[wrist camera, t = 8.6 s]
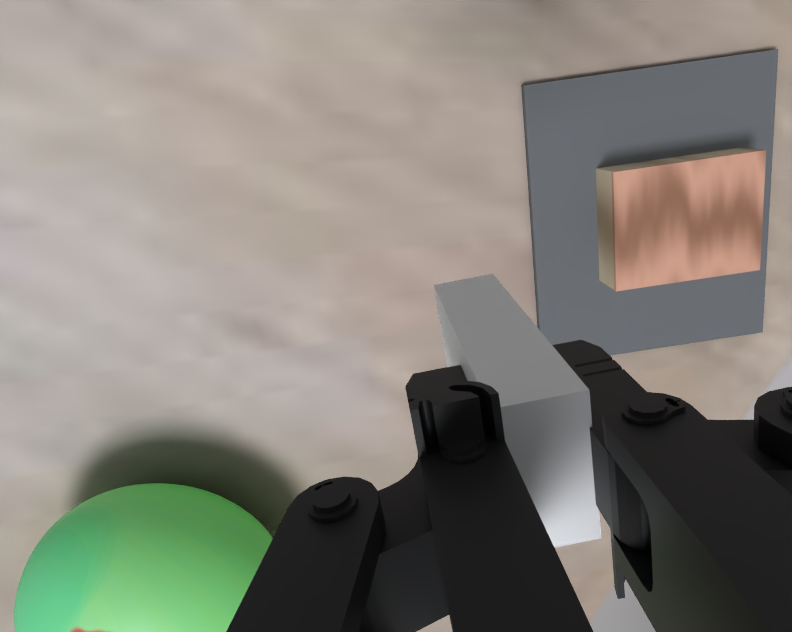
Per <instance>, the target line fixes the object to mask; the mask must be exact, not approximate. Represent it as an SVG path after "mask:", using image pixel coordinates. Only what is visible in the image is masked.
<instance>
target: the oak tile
mask: <svg viewBox="0 0 792 632" xmlns="http://www.w3.org/2000/svg"><path fill="white" fill-rule="evenodd" d="M765 166H766V150H761V149H748V148H734V149H727V150H720V151H713V152H706V153H699V154H692V155H685V156H679V157H672V158H665V159H658V160H651V161H644V162H637V163H630V164H623V165H617V166H610V167H603V168H596V189H597V219H598V250H599V280H600V281H601V282H603V283H604V284H606V285H607V286H609V287H610V288H612V289H613V290H615V291H623V290H629V289H636V288H643V287H650V286H656V285H663V284H670V283H676V282H683V281H690V280H697V279H703V278H710V277H717V276H723V275H730V274H737V273H744V272H750V271H757V270H760V262H761V243H762V224H763V205H764V185H765Z"/></svg>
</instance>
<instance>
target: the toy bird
mask: <svg viewBox="0 0 792 632" xmlns="http://www.w3.org/2000/svg"><path fill="white" fill-rule="evenodd" d="M272 539H273V538H272V536H271V535H270V534H269V532H268V531H267V530H266V529H265V527H264V526H263V525H262V524H261V523H260V522H259V521H258V520H257V519H256V518H254V517H253V516H252V515H251V514H250V513H248V512H247V511H246V510H244V509H243V508H241V507H240V506H238V505H236V504H235V503H233V502H231V501H229V500H227V499H225V498H223V497H221V496H219V495H216V494H214V493H211V492H208V491H205V490H202V489H199V488H195V487H190V486H185V485H177V484H165V483H150V484H137V485H130V486H125V487H120V488H116V489H113V490H110V491H107V492H104V493H101V494H99V495H96V496H94V497H92V498H90V499H88V500H86V501H84V502H83V503H81V504H79V505H78V506H76V507H75V508H73V509H72V510H70V511H69V512H68V513H66V514H65V515H64V516H63V517H61V518H60V519H59V520H58V521H57V522H56V523H55V524H54V525H53V526H52V527H51V528H50V529H49V530H48V531H47V533H46V534H45V535H44V536H43V537H42V539H41V540H40V542H39V543H38V544H37V546H36V547H35V549H34V551H33V552H32V554H31V556H30V558H29V560H28V562H27V564H26V566H25V568H24V571H23V573H22V576H21V579H20V582H19V586H18V589H17V594H16V600H15V609H14V624H15V632H226V631H227V629H228V627H229V625H230V623H231V621H232V619H233V617H234V615H235V613H236V611H237V609H238V607H239V605H240V603H241V601H242V599H243V597H244V595H245V593H246V591H247V589H248V587H249V585H250V583H251V581H252V579H253V577H254V575H255V573H256V571H257V569H258V567H259V565H260V563H261V561H262V559H263V557H264V555H265V553H266V551H267V549H268V547H269V545H270V543H271V541H272Z"/></svg>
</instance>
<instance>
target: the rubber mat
mask: <svg viewBox="0 0 792 632" xmlns="http://www.w3.org/2000/svg"><path fill="white" fill-rule="evenodd" d="M777 62H778V49H775V50H768V51H761V52H754V53H747V54H740V55H733V56H726V57H719V58H712V59H705V60H698V61H691V62H684V63H677V64H670V65H663V66H656V67H649V68H642V69H635V70H628V71H621V72H614V73H607V74H600V75H593V76H586V77H579V78H572V79H565V80H558V81H551V82H544V83H537V84H530V85H523V86H522V100H523V115H524V130H525V145H526V160H527V175H528V190H529V205H530V220H531V235H532V250H533V265H534V280H535V295H536V310H537V325H538V329H539V330H540V331H541V332H542V334H543V335H544V336H545V337H546V338H547V340H548V341H549V342H550V343H551V344H552V345H556V344H561V343H566V342H571V341H576V340H584V341H586V342H589V343H592V344H594V345H597V346H599V347H601V348H602V349H603V350H604V351H605V352H606V353H607V354H608V355H615V354H622V353H628V352H635V351H642V350H648V349H655V348H661V347H668V346H675V345H681V344H688V343H695V342H701V341H708V340H714V339H721V338H728V337H734V336H741V335H748V334H754V333H761V332H763V315H764V297H765V279H766V261H767V243H768V224H769V206H770V188H771V170H772V152H773V134H774V116H775V98H776V80H777ZM734 148H748V149H761V150H766V166H765V185H764V205H763V224H762V243H761V262H760V270H757V271H750V272H744V273H737V274H730V275H723V276H717V277H710V278H703V279H697V280H690V281H683V282H676V283H670V284H663V285H656V286H650V287H643V288H636V289H629V290H623V291H615V290H613V289H612V288H610V287H609V286H607V285H606V284H604V283H603V282H601V281H600V280H599V250H598V219H597V189H596V168H603V167H610V166H617V165H623V164H630V163H637V162H644V161H651V160H658V159H665V158H672V157H679V156H685V155H692V154H699V153H706V152H713V151H720V150H727V149H734Z"/></svg>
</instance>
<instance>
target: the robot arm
mask: <svg viewBox="0 0 792 632" xmlns="http://www.w3.org/2000/svg"><path fill="white" fill-rule="evenodd" d="M434 290H435V296H436V302H437V308H438V314H439V320H440V326H441V332H442V338H443V344H444V350H445V356H446V363H447V367H446V368H441V369H436V370H431V371H426V372H420V373H415V374H413V375H412V377H411V378H410V380H409V382H408V383H407V385H406V392H407V397H408V403H409V408H410V413H411V418H412V423H413V428H414V434H415V439H416V444H417V449H418V460H417V462H416V464H415V467H414V468H413V469H412V470H411V471H410V473H409V474H408V475H406V476H405V477H404V478H402V479H401V480H400V481H398V482H396V483H394V484H393V485H391V486H389V487H387V488H384V489H382V490H379V491H377V489H376V488H375V487H374V486H373V484H372V483H370V482H368V481H366V480H363V479H361V478H355V477H339V478H334V479H328V480H325V481H322V482H319V483H317V484H315V485H313V486H310V487H309V488H308V489H306V490H305V491H303V492H302V493H301V494H299V495H298V496H297V497H296V498H295V499H294V501H293V502H292V503H291V505H290V506H289V507H288V509H287V511H286V513H285V515H284V517H283V519H282V521H281V523H280V525H279V527H278V529H277V531H276V533H275V535H274V537H273V539H272V541H271V543H270V545H269V547H268V549H267V551H266V553H265V555H264V557H263V559H262V561H261V563H260V565H259V567H258V569H257V571H256V573H255V575H254V577H253V579H252V581H251V583H250V585H249V587H248V589H247V591H246V593H245V595H244V597H243V599H242V601H241V603H240V605H239V607H238V609H237V611H236V613H235V615H234V617H233V619H232V621H231V623H230V625H229V627H228V629H227V631H226V632H416V631H418V630H420V629H422V628H424V627H426V626H428V625H430V624H432V623H433V622H435V621H437V620H439V619H441V618H443V617H445V616H447V615H450V620H451V625H452V630H453V632H593V630H592V628H591V626H590V624H589V621H588V619H587V617H586V615H585V613H584V611H583V608H582V606H581V604H580V602H579V600H578V598H577V595H576V593H575V591H574V589H573V587H572V585H571V583H570V580H569V578H568V576H567V574H566V572H565V570H564V567H563V565H562V563H561V561H560V559H559V557H558V554H557V552H556V550H555V548H554V547H559V546H564V545H569V544H574V543H580V542H585V541H590V540H595V539H600V538H601V528H600V515H599V510H600V512H601V514H602V515H603V517H604V519H605V520H606V522H607V524H608V525H609V527H610V529H611V543H612V556H613V570H614V584H615V590H616V594H617V598H618V599H620V598H625V593H624V582H625V579H626V580H627V582H628V583H629V585H630V587H631V589H632V591H633V592H634V594H635V596H636V598H637V599H638V601H639V603H640V605H641V606H642V608H643V610H644V611H645V613H646V615H647V617H648V619H649V620H650V622H651V624H652V626H653V627H654V629H655V631H656V632H792V387H787V388H783V389H778V390H774V391H769V392H767V393H765V394H764V395H762V396H760V397H759V398H758V399H757V401H756V403H755V406H754V420H707V419H706V418H705V417H704V416H703V415H702V414H700V413H699V412H698V411H697V410H696V409H695V408H694V407H693V406H691V405H690V404H688V403H687V402H685V401H683V400H682V399H680V398H678V397H674V396H670V395H667V394H663V393H651V392H646V391H645V390H644V389H643V388H642V387H641V386H640V385H639V384H638V383H637V382H636V381H635V380H634V379H633V378H632V377H631V376H630V375H629V374H628V373H627V372H626V371H625V370H624V369H623V370H622V368H621V366H620V365H619V364H618V363H617V362H616V361H615V360H612V357H611V356H609V355H608V354H607V353H606V352H605V351H604V350H603V349H602V348H601V347H599V346H597V345H594V344H592V343H589V342H586V341H584V340H576V341H571V342H566V343H561V344H556V345H552V344H551V343H550V342H549V341H548V340H547V338H546V337H545V336H544V335H543V334H542V332H541V331H540V330H539V329H538V328H537V326H536V325H535V324H534V323H533V322H532V320H531V319H530V318H529V317H528V316H527V314H526V313H525V312H524V311H523V310H522V308H521V307H520V306H519V305H518V304H517V302H516V301H515V300H514V299H513V298H512V296H511V295H510V294H509V293H508V292H507V290H506V289H505V288H504V287H503V286H502V284H501V283H500V282H499V281H498V280H497V278H496V277H495V276H494V275H493V274H490V275H484V276H479V277H474V278H469V279H464V280H458V281H453V282H448V283H443V284H438V285H434Z"/></svg>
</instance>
